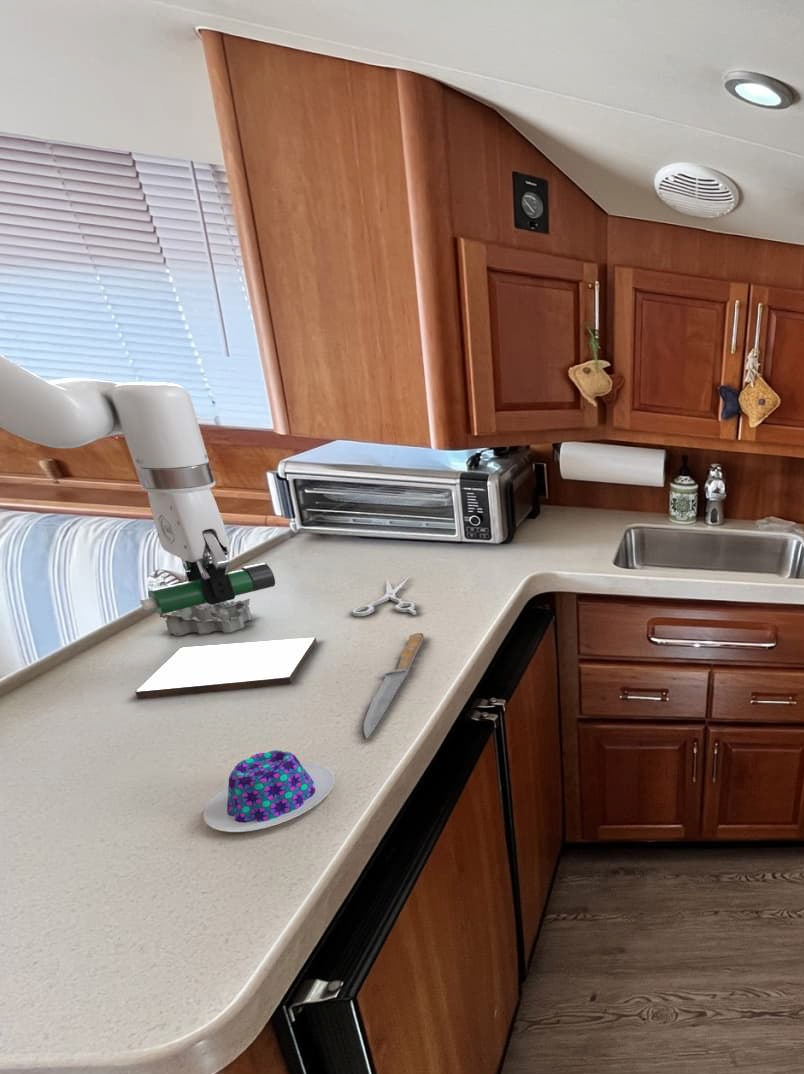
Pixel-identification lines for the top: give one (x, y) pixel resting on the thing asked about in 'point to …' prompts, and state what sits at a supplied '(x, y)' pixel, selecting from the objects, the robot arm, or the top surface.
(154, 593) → the marker
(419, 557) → the top surface
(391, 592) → the scissors
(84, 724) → the top surface
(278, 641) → the board
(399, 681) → the knife
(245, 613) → the egg carton
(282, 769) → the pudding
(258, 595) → the top surface
